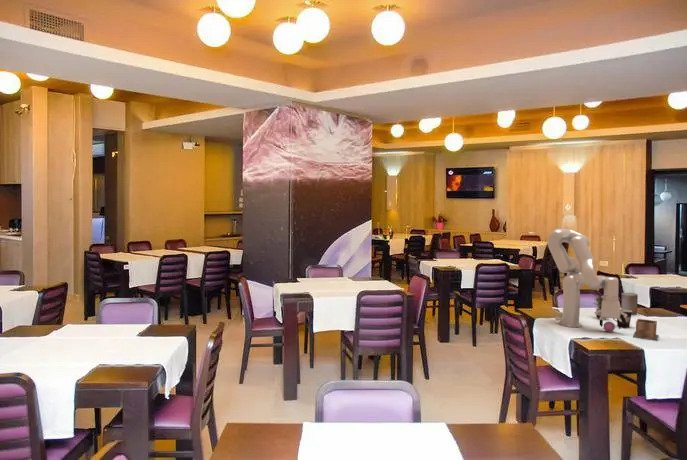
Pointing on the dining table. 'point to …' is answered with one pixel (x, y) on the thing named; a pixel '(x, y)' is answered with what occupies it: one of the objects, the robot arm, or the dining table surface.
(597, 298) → the house plant
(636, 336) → the wooden cube shelf
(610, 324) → the plum ball
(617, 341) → the dining table surface
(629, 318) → the coffee mug
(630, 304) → the pillar candle
